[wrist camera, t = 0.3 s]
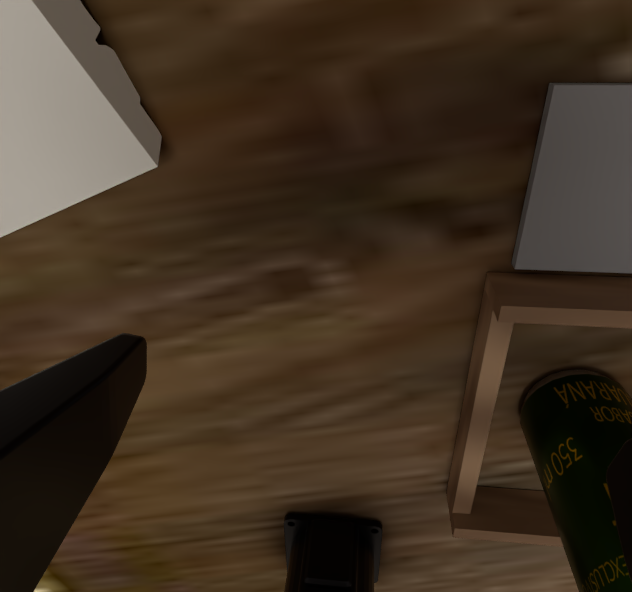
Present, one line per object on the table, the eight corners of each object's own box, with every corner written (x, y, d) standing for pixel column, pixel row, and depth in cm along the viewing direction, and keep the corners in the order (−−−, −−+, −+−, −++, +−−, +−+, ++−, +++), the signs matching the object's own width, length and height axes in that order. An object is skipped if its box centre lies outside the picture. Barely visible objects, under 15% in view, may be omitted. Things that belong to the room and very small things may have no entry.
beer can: (608, 444, 27) (749, 708, 17) (508, 437, 28) (586, 690, 18) (639, 367, 25) (829, 626, 14) (527, 361, 25) (633, 608, 15)
